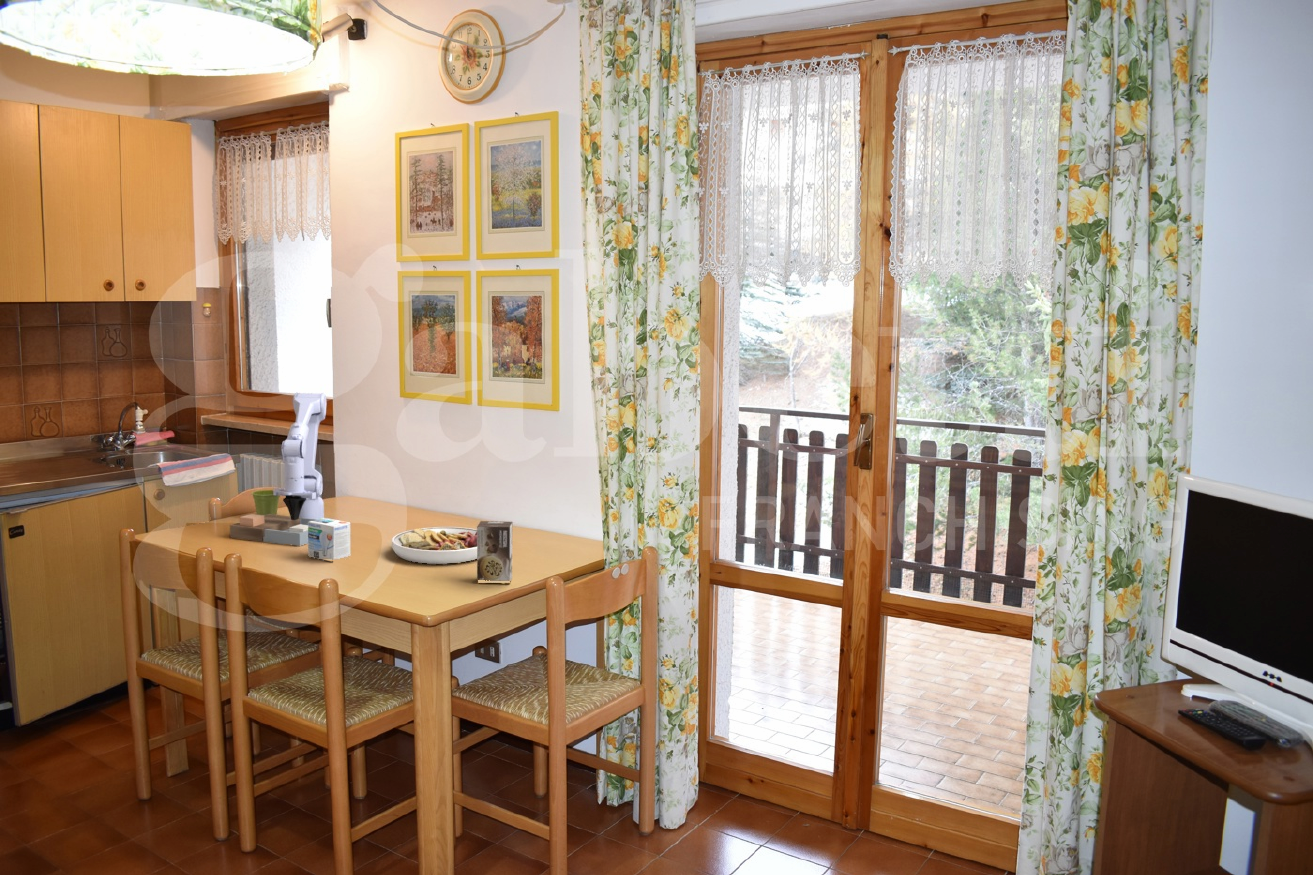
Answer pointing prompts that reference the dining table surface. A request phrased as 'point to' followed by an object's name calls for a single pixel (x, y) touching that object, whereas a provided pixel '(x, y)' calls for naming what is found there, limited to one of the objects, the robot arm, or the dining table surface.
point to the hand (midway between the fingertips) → (294, 519)
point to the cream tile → (299, 528)
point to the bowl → (436, 545)
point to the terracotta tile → (252, 520)
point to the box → (288, 535)
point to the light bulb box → (328, 539)
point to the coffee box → (494, 551)
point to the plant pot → (266, 502)
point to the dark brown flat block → (262, 527)
